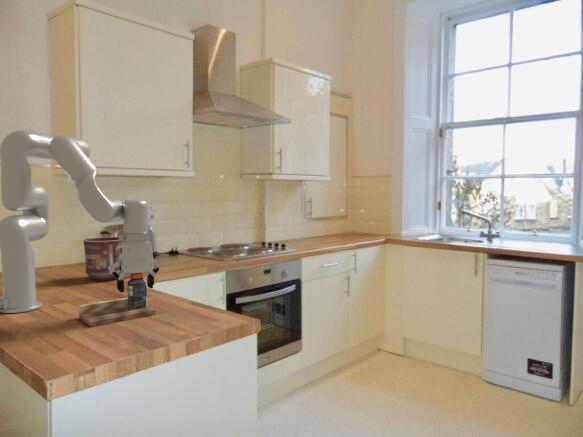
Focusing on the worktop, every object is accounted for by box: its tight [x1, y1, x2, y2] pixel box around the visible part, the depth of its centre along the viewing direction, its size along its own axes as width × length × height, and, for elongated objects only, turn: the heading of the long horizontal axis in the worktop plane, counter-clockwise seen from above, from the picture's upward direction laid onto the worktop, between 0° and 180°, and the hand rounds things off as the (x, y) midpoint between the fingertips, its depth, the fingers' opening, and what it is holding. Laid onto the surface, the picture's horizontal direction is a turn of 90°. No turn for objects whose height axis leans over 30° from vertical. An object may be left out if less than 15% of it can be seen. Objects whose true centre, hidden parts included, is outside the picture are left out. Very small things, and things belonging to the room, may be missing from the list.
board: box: [78, 297, 157, 327], centre depth 143 cm, size 20×12×4 cm, turn 130°
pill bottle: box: [126, 273, 148, 309], centre depth 148 cm, size 6×6×11 cm
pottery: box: [83, 236, 124, 282], centre depth 202 cm, size 18×18×18 cm
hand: (135, 289), depth 148 cm, fingers open, 9 cm apart
